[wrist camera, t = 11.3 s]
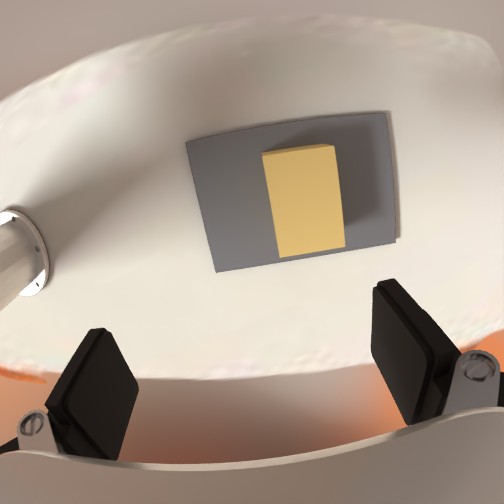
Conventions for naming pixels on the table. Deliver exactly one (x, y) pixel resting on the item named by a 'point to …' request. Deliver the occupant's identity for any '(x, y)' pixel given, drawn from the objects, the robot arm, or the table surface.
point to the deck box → (305, 199)
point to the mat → (257, 196)
